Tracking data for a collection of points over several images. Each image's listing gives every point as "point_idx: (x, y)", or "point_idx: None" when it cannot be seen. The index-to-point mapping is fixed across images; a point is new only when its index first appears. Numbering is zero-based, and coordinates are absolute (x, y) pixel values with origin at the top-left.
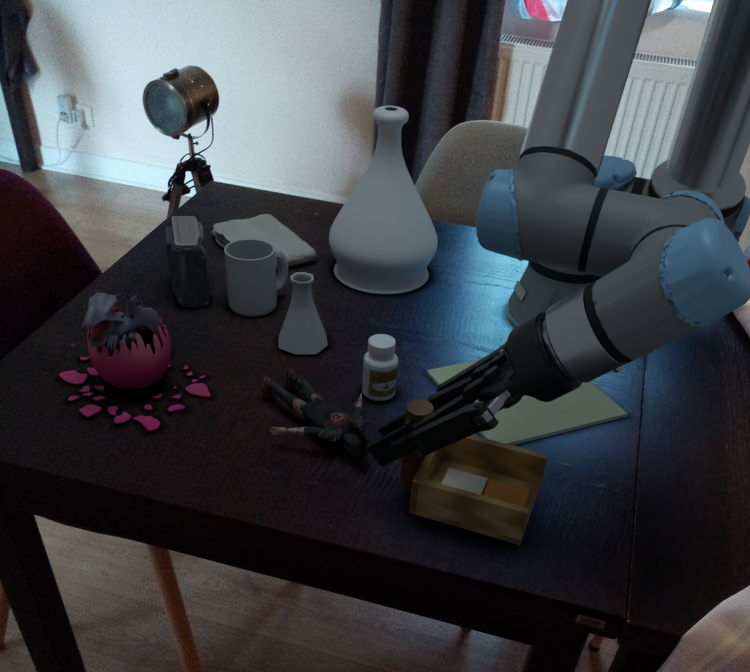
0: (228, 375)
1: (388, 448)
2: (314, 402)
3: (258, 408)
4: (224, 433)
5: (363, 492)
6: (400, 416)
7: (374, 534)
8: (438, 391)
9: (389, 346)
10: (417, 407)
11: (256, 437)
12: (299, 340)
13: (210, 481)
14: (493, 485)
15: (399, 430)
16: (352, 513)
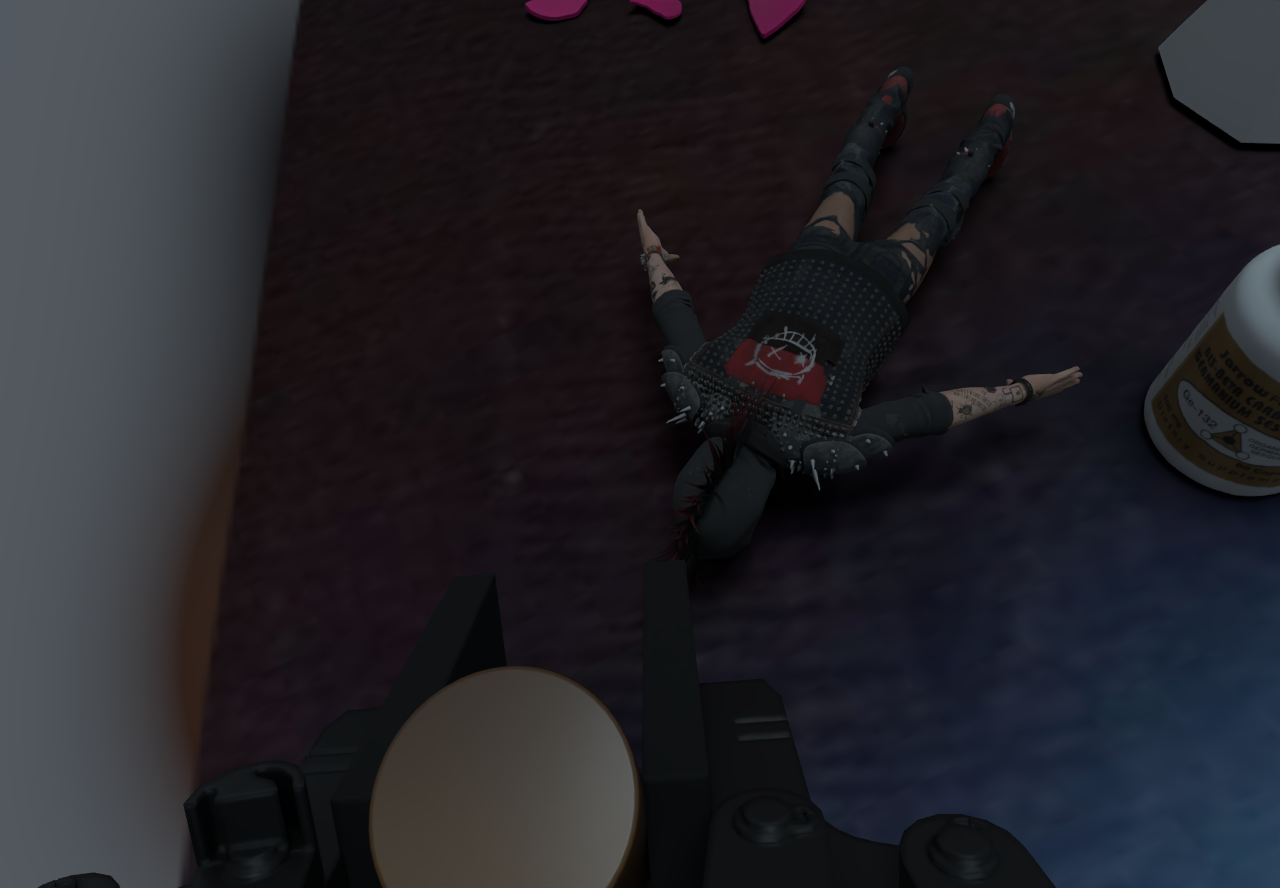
0: (906, 23)
1: None
2: (848, 248)
3: (805, 153)
4: (625, 143)
5: None
6: (662, 645)
7: None
8: (899, 861)
9: None
10: (484, 778)
11: (656, 216)
12: (1225, 53)
13: (387, 218)
14: None
15: (372, 725)
16: (384, 688)
